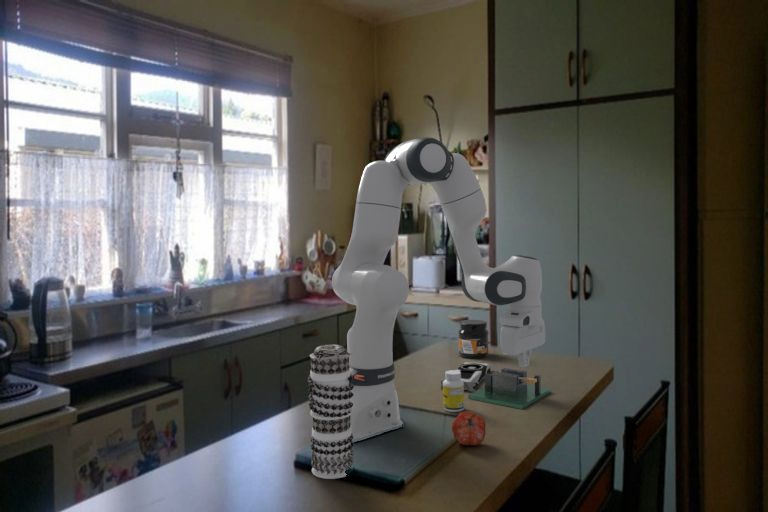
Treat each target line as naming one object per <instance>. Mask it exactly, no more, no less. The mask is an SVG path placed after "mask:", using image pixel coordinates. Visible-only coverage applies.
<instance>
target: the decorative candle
mask: <svg viewBox="0 0 768 512" xmlns="http://www.w3.org/2000/svg"><path fill="white" fill-rule="evenodd" d="M350 355H351V353H349V352H347V348H345V346H343V345H340V344H323V345H319V346H317V347H316V348H315V349H314V351H313V353H310V354H309V357H310V367H311V369H310V371H309V373H310V374H309V375H308V378H307V379H306V382H307V383H308V385H307V391H308V392H309V395H308V396H307V397H308V399H309V404H308V406H309V410H310V412H309V415H310V416H311V417H312V427H311V436H310V442H311V445H310V449H311V450H312V451H311V453H310V457H311V462H310V463H311V467H312V468H311V474H313V476H315V477H317V478H319V479H324V480H336V479H340V478H345V477H347V476H346V475H347V474H346V473H345V471H346V470H348V469H349V466H350V467H351V466H352V465H353V464H354V462H355V461H354V455H355V453H354V449H353V447H354V442H352V439H353V435H352V429H351V425H350V415H351V414H352V409H351V407H352V406H353V403H352V402H350V401H349V399H350V398H352V397H353V395H354V394H353V393H352V392H350V391H351V390H352V389H353V388H354V386H353V385H351V383H350V384H349V381H350V380H352V379H353V378H354V376H353V375H351V374H350V368H349V356H350ZM353 466H354V465H353Z"/></svg>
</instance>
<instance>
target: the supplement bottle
mask: <svg viewBox="0 0 768 512" xmlns="http://www.w3.org/2000/svg"><path fill="white" fill-rule="evenodd" d="M444 373H445V374H444V375H445V377H444V378H445V379H446V380H445V379H443V380H444V381H443V389H442V399H443V400H442V405H443V407H442V408H443V410H444V411H446V412H449V413H459V412H460V413H461V412H463V411H464V410H465V391H464V382H463V381H462V380H461V379H460V378H461V372H460V371H457V369H452V370H451V369H450V370H446V371H445V372H444Z"/></svg>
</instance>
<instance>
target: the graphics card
mask: <svg viewBox="0 0 768 512" xmlns="http://www.w3.org/2000/svg"><path fill="white" fill-rule="evenodd" d="M456 370H457V371H460V372H461V378H460V379H461V380H462V381H463V382H464V392H467V391H468V393H469V392H471V393H473V392H475V391H477V390H476V388H477V387H478V386H479V385H480V384H481V382H482V381H483V380H485V374H490V372H491V366H490V365H489V363H480V362H469V361H468V362H467V361H465V362H464V363H461V364H460V366H459V367H458V368H456ZM444 380H446V378H445V379H442V380H441V381H440V389H441V390H443V381H444Z"/></svg>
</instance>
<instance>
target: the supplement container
mask: <svg viewBox="0 0 768 512" xmlns="http://www.w3.org/2000/svg"><path fill="white" fill-rule="evenodd" d="M457 332H458V333H457V334H458V355H460V357H463V358H465V359H474V358H475V359H483V357H484V358H486V357H488V356H489V354H490V353H489V333H490V332H489V330H488V322H487V320H483V319H464V320H460V321H459V329H458V331H457Z"/></svg>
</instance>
